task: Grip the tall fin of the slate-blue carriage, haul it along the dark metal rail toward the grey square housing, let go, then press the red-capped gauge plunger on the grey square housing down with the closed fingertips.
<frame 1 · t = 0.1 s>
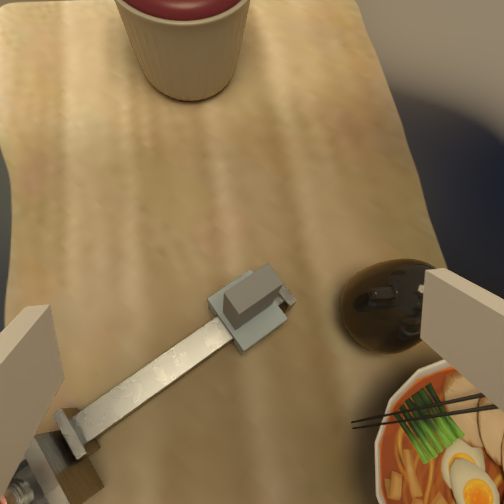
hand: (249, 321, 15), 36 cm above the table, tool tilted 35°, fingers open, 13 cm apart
ramen bowl: (448, 464, 47), on the table
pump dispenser: (370, 316, 52), on the table
carriage: (248, 304, 44), point 7 cm above the table, slide at 0.0 cm
grey square housing: (57, 479, 44), on the table
rail: (185, 358, 49), on the table
canister: (190, 72, 63), on the table
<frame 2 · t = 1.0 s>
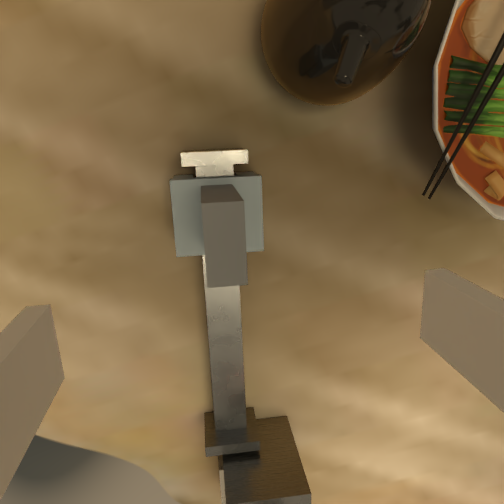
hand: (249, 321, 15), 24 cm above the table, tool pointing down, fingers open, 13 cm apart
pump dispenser: (314, 46, 35), on the table
carriage: (219, 222, 30), point 7 cm above the table, slide at 0.0 cm
grey square housing: (255, 447, 44), on the table
rail: (221, 296, 39), on the table
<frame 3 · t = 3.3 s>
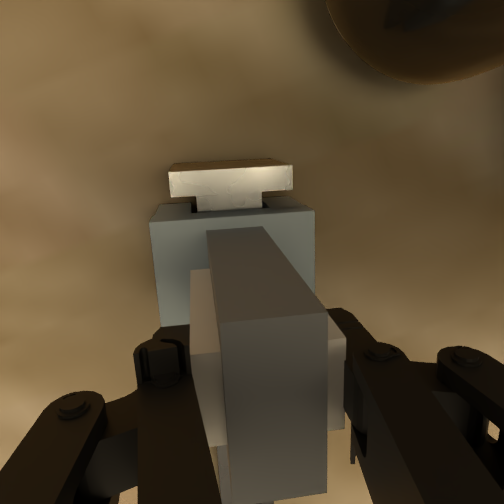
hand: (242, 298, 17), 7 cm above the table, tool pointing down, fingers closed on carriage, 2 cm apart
carriage: (243, 303, 16), point 7 cm above the table, slide at 0.0 cm, touching gripper
rail: (237, 387, 25), on the table
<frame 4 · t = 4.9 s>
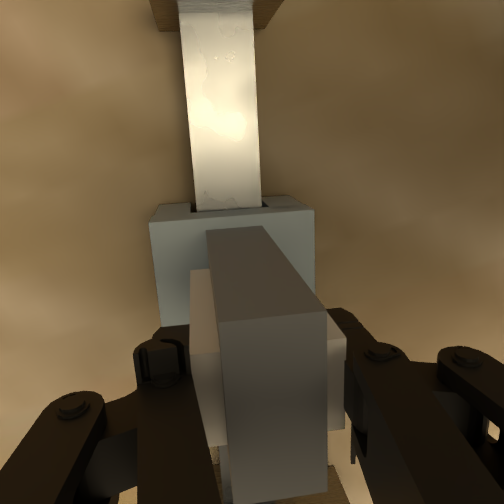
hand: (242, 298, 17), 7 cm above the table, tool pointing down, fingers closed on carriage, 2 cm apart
carriage: (243, 302, 16), point 7 cm above the table, slide at 7.1 cm, touching gripper
rail: (230, 277, 23), on the table
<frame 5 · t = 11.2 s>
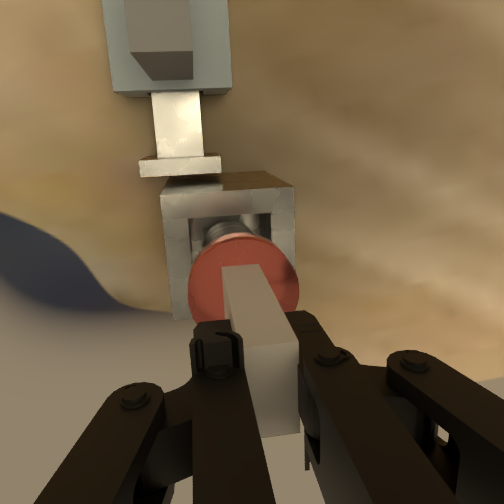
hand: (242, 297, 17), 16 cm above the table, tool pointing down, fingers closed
plunger: (235, 267, 21), point 12 cm above the table, slide at 1.6 cm, touching gripper
carriage: (166, 23, 22), point 7 cm above the table, slide at 14.0 cm
grey square housing: (220, 219, 32), on the table
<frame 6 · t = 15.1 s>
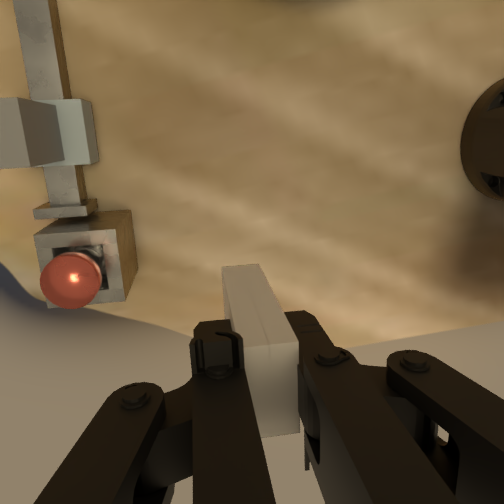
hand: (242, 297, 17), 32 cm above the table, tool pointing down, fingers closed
plunger: (80, 269, 38), point 10 cm above the table, slide at 3.7 cm
carriage: (38, 133, 37), point 7 cm above the table, slide at 14.0 cm
grey square housing: (103, 242, 48), on the table
rail: (52, 77, 42), on the table
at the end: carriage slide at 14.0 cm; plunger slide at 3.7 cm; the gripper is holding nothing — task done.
